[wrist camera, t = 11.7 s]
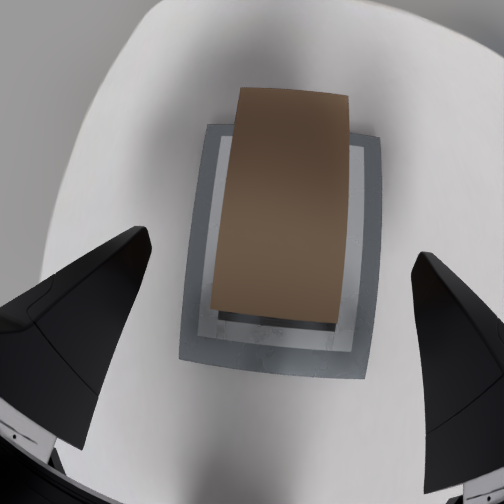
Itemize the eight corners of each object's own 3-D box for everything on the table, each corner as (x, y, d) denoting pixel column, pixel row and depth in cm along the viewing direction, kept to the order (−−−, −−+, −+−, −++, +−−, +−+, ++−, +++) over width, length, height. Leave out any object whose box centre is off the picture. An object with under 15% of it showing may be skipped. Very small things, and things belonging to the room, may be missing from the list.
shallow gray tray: (360, 374, 17) (377, 395, 13) (183, 355, 19) (160, 371, 15) (376, 143, 19) (392, 116, 15) (210, 130, 20) (195, 101, 16)
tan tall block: (305, 298, 17) (337, 327, 6) (255, 293, 18) (209, 313, 7) (314, 199, 18) (348, 95, 7) (266, 194, 18) (240, 87, 7)
